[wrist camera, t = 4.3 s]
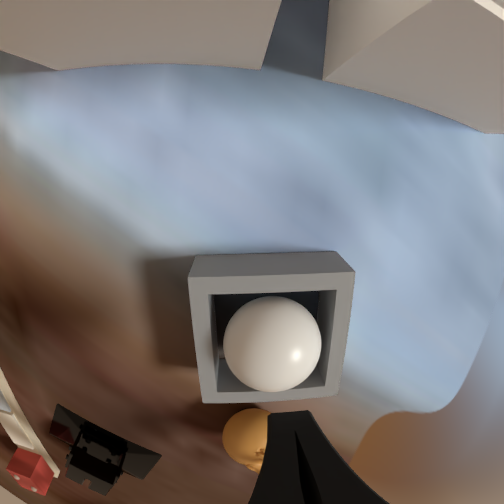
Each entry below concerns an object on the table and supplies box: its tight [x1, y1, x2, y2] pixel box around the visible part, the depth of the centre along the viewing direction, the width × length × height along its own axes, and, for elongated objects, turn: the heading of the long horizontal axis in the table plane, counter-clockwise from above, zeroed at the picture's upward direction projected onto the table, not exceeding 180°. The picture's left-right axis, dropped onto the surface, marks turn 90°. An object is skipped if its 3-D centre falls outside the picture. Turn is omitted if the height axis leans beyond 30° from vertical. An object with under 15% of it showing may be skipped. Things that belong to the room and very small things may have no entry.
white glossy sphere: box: [223, 296, 321, 392], centre depth 15 cm, size 5×5×5 cm
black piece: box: [49, 404, 162, 496], centre depth 19 cm, size 12×7×5 cm, turn 58°
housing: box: [188, 251, 355, 403], centre depth 16 cm, size 7×7×3 cm
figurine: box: [222, 408, 271, 474], centre depth 14 cm, size 8×6×12 cm
